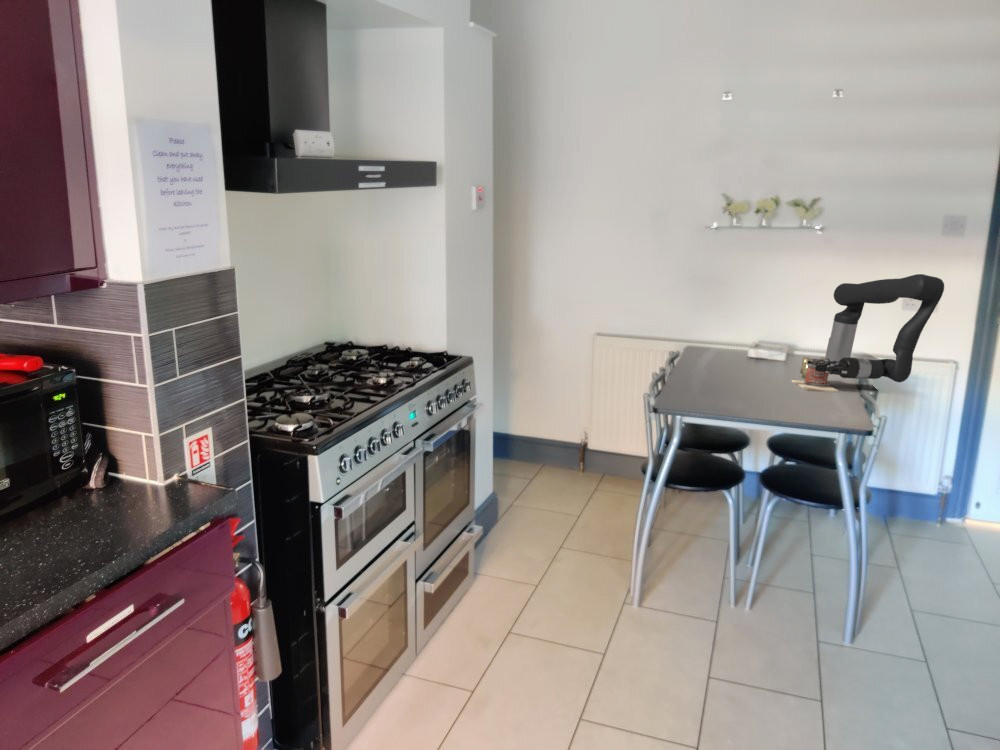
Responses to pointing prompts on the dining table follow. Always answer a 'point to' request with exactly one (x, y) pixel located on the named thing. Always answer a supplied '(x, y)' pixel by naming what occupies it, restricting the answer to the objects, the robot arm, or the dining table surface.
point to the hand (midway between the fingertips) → (811, 365)
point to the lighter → (816, 373)
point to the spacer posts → (805, 366)
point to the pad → (814, 387)
